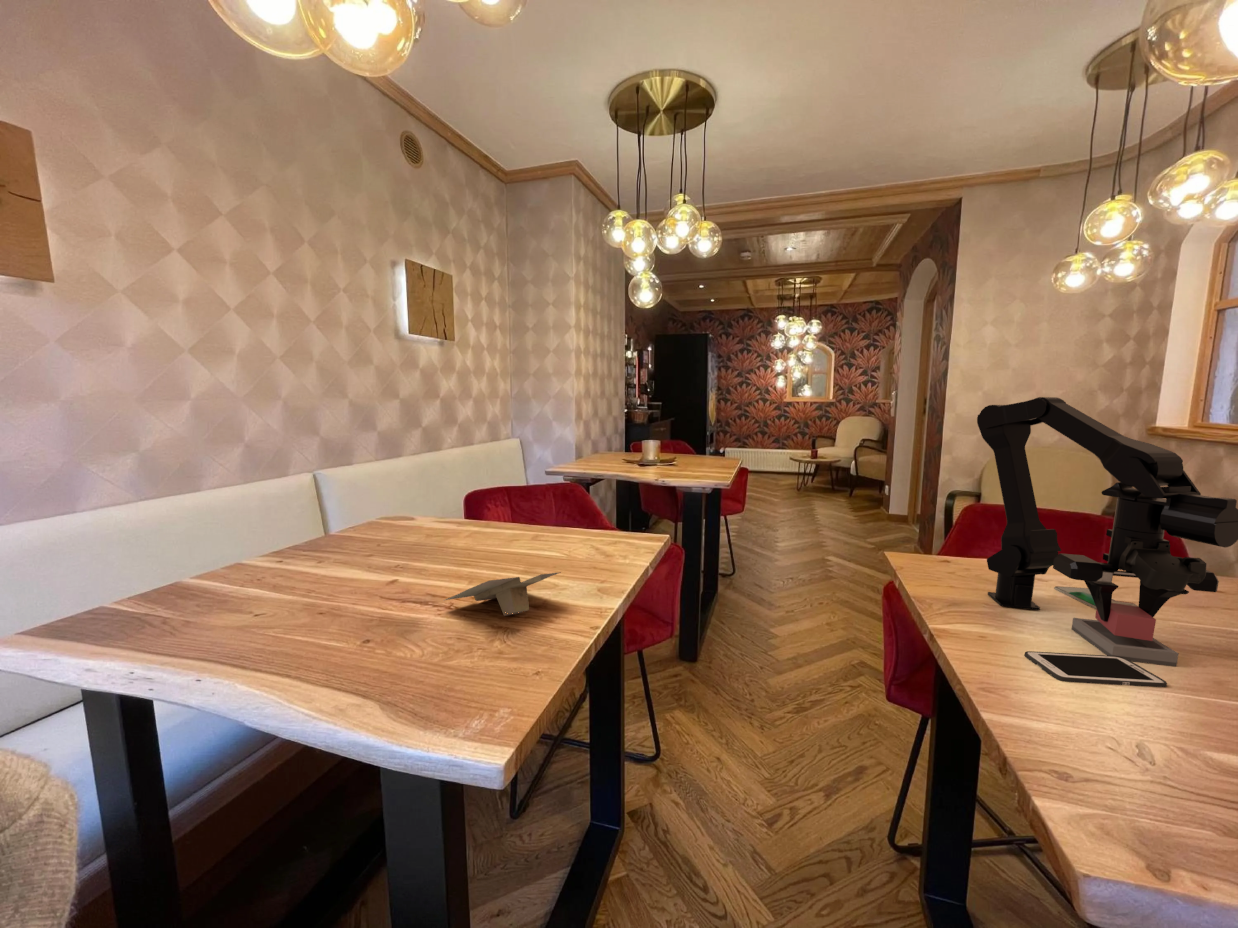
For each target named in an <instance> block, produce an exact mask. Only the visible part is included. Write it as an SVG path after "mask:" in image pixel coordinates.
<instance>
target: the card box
mask: <svg viewBox="0 0 1238 928" xmlns="http://www.w3.org/2000/svg"><path fill="white" fill-rule="evenodd" d="M1095 610H1096V611H1095V616H1094V617H1095V618H1094V619H1095V620H1098V621H1099V622H1100V623H1101V624H1103V625H1104V626H1105V627H1106V628H1107V629H1108V630H1109V631H1110V632H1112V633H1113V634H1114V635H1116V636H1123V637H1129V638H1136V639H1142V640H1148V641H1153V638H1154V634H1155V628H1156V622H1157V619H1156V618H1155V617H1152V616H1150V615H1149V614H1148V613H1146V612H1145V611H1144V610H1142V609H1141V608H1139V604H1136V603H1135V602H1129V601H1123V600H1116V601H1115V599H1113V600H1111V609H1110V615H1109V619H1108V621H1107V622H1105V621H1103V620H1101V618H1100V616H1099V613H1098V611H1097V609H1095Z"/></svg>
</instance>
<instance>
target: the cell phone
mask: <svg viewBox="0 0 1238 928" xmlns="http://www.w3.org/2000/svg"><path fill="white" fill-rule="evenodd" d="M1024 657H1025V658H1026V659H1027V660H1029V661H1030V662H1032V664H1034V665H1035V666H1036V665H1037V666H1039V667H1040V668H1041V670H1042V671H1043V672H1045V673H1046V674H1048V675H1049V676H1050V677H1052V678H1053V679H1055V680H1057V681H1060V682H1064V683H1065V682H1066V683H1079V684H1095V685H1097V684H1099V685H1114V686H1132V687H1146V688H1147V687H1148V688H1149V687H1150V688H1167V687H1168V683H1167V681H1166V680H1164V679H1163V678H1161V677H1159V676H1158V675H1156V674H1155V673H1152V672H1151V671H1149V670H1147V669H1145V668H1144V667H1142V666H1140V665H1139V664H1136V663H1135V662H1134V661H1130V660H1128V659H1126V658H1123V657H1119V656H1107V655H1106V654H1087V653H1081V654H1080V653H1067V652H1051V651H1049V652H1048V651H1030V650H1029V651H1027V650H1026V651H1025V652H1024Z"/></svg>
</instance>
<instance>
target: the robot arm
mask: <svg viewBox="0 0 1238 928" xmlns="http://www.w3.org/2000/svg"><path fill="white" fill-rule="evenodd" d="M976 423H977V427H978V430H979V432H980V436H981V438H982V439H983V441H984V442H985V443H986V444H987V445H988V446H989V447H990V448H991V450H992V451H993V453H994V454H993V456H994V459H995V460H994V461H995V464H996V470H997V475H998V480H999V486H1000V487H999V488H1000V492H1001V496H1002V501H1003V507H1004V512H1005V517H1006V525H1005V528H1004V530H1003V533H1002V534H1001V538H1000V540H1001V541H1000V543H1001V547H1000V548H1001V549H1000V550H999V551H997V552H996V553H994V554H992V555H991V556H989V557H988V558H986V563H987V568H988V570H989V571H992V572H994V573H997V578H996V587H995V592H992V591H987V595H988V596H989V597H990V598H991V599H992V600H993V601H994V602H996V603H997V604H998V605H999V606H1001V607H1007V608H1018V609H1027V610H1034V611H1035V610H1036V611H1039V610H1040V609H1041V606H1039V605H1038V604H1037V603H1035V602H1033V594H1034V588H1035V586H1034V585H1035V579H1036V576H1037V575H1046V574H1047V572H1048V570H1049V569H1050V567H1052V570H1053V569H1054V570H1055V571H1057V572H1059V573H1060V574H1061V575H1062V574H1063V576H1065V577H1067V578H1069V579H1072V580H1075V581H1076V580H1077V581H1084V584H1085V586H1086V588H1088V589H1089V591H1090V593H1091V595H1092V598H1093V600H1094V603H1095V605H1096V608H1097V611H1098V613H1099V616H1100V618H1101V620H1103V621H1105V622H1107V621H1108V619H1109V615H1110V609H1111V600H1112V599H1113V593H1114V591H1116V590H1117V589H1118V588H1119V585H1118V584H1115V583H1114V582H1113V576H1114V577H1125V578H1136V579H1138V580H1139V595H1138V596H1139V598H1138V606H1139V608H1141V609H1142V610H1144V611H1145V612H1146V613H1148V614H1149V615H1150V616H1152V617H1153V618H1155V616H1156V614H1157V613H1158V612H1159V611H1160V609H1161V608H1162V607H1163V606H1164V605H1165V604H1166V603H1167V602H1168V601H1169V599H1172V598H1175V597H1177V596H1181V595H1188V594H1189V593H1190V591H1189V590H1187V589H1186V587H1187V586H1188V588H1189V589H1191V590H1192V591H1196V592H1198V591H1199V592H1207V593H1208V592H1209V593H1216V592H1218V587H1219V583H1220V580H1219V579H1218V577H1217V575H1216V574H1215V573H1214V572H1212V571H1210V570H1208V569H1207V566H1208V565H1207V562H1205V561H1204V560H1203V559H1202V558H1200V557H1189V556H1184V557H1182V556H1175V555H1174V556H1173V555H1172V554H1171V544H1170V540H1167V539H1165V538H1164V537H1165V532H1166V533H1167V534H1168V535H1169V536H1170V537H1174V538H1179V539H1184V540H1188V541H1193V542H1197V543H1203V544H1207V545H1212V546H1218V547H1220V548H1221V547H1222V548H1229V547H1231V546H1233V545H1235V543H1237V542H1238V508H1237V504H1238V503H1237V499H1235V498H1232V497H1224V496H1223V497H1221V496H1220V497H1214V496H1209V495H1208V496H1207V495H1202V494H1201V492H1200V491H1199V489H1198V488H1197V486H1196V485H1195V484H1194V482H1193V481H1192V479H1191V478H1190V476H1188V474H1187V473H1186V471H1185V470H1184V465H1183V459H1182V457H1181V456H1180V455H1178V454H1177V453H1176V452H1174V451H1172V450H1168V449H1166V448H1163V447H1161V446H1158V445H1155V444H1152V443H1149V442H1145V441H1141V440H1137V439H1134V438H1131V437H1128V436H1124V435H1123V434H1121V433H1120V432H1117V431H1116V430H1114V429H1112V428H1110V427H1109V426H1107V425H1105V424H1103V422H1099V421H1098V420H1096V419H1095V418H1093V417H1091V416H1089V415H1088V414H1085V413H1083V411H1080V410H1078V409H1077V408H1075V407H1073V406H1072V405H1069V403H1066V401H1065V400H1064V399H1062V398H1059V397H1050V396H1044V397H1043V396H1039V397H1038V396H1037V397H1036V398H1034V399H1033V398H1032V399H1029V400H1025V401H1020V402H1016V403H1010V404H990V405H987V406H984V407H983V408H982V409H981V410H980V413H979V414H977V418H976ZM1042 423H1044V424H1045V425H1046V426H1049V427H1050V428H1051V429H1054V430H1055V431H1057V432H1058V433H1059V434H1061V435H1063V436H1064V437H1066V438H1068V439H1070V440H1071V441H1072V442H1074V443H1076V444H1078V445H1079V446H1081V447H1082V448H1084V449H1085V450H1087V451H1088V452H1090V453H1092V454H1093V455H1094V456H1095V457H1097V459H1098V460H1100V463H1101V464H1102V467H1103V469H1105V470H1106V471H1107V472H1108V473H1109V474H1110V475H1111V476H1112V477H1113V478H1115V479H1116V480H1117V481H1118V482H1115V483H1114V484H1113V485H1112V486H1109V487H1108V488H1106V489H1104V490H1101V492H1100V493H1101V495H1103V496H1107V497H1113V498H1117V499H1116V505H1115V511H1114V512H1115V513H1114V518H1113V525H1112V529H1110V528H1109V529H1108V528H1107V529H1106V533H1105V535H1106V536H1108V537H1111V538H1110V543H1109V545H1110V546H1109V552H1108V553H1104V552H1103V554H1102V560H1103V561H1106V562H1107V563H1106V562H1098V561H1096V560H1094V559H1092V558H1090V557H1088V556H1086V555H1083V554H1072V553H1061V552H1062V549H1061V547H1060V545H1059V542H1058V532H1057V530H1056V529H1054V528H1050V529H1047V528H1046V526H1045V525H1044V524H1043V523H1042V522H1041V521H1040V520H1041V519H1040V517H1039V512H1038V508H1037V502H1036V497H1035V492H1034V486H1033V481H1032V477H1031V472H1030V467H1029V463H1028V457H1027V453H1026V445H1027V442H1028V440H1029V439H1030V436H1031V431H1032V429H1031V427H1032V426H1035V425H1036V426H1037V425H1040V424H1042ZM1059 552H1060V553H1059Z"/></svg>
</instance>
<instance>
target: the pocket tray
mask: <svg viewBox="0 0 1238 928" xmlns="http://www.w3.org/2000/svg"><path fill="white" fill-rule="evenodd" d="M1071 630H1072V631H1073V632H1075V633H1076V634H1077V635H1079V636H1080V637H1082V638H1083V639H1084V640H1086V641H1087V642H1088V643H1089V644H1091V645H1092V646H1094V647H1095V648H1096V649H1098V650H1099V651H1101V652H1102V653H1103V655H1106V656H1119V657H1123V658H1126V659H1128V660H1130V661H1131V662H1133V663H1135V662H1136V663H1144V664H1153V665H1159V666H1168V667H1169V666H1170V667H1177V665H1178V658H1179V652H1177V651H1175V650H1174V649H1172V648H1171V647H1169V646H1168V645H1166V644H1164V643H1162V642H1160V641H1159V640H1157V639H1155V638H1154V637H1153V641H1148V640H1142V639H1136V638H1129V637H1123V636H1116V635H1114V634H1113V633H1112V632H1110V631H1109V630H1108V629H1107V628H1106V627H1105V626H1104V625H1103V624H1101V623H1100V622H1099V621H1098V620H1097V619H1089V618H1081V617H1080V618H1079V617H1072V623H1071Z"/></svg>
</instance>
